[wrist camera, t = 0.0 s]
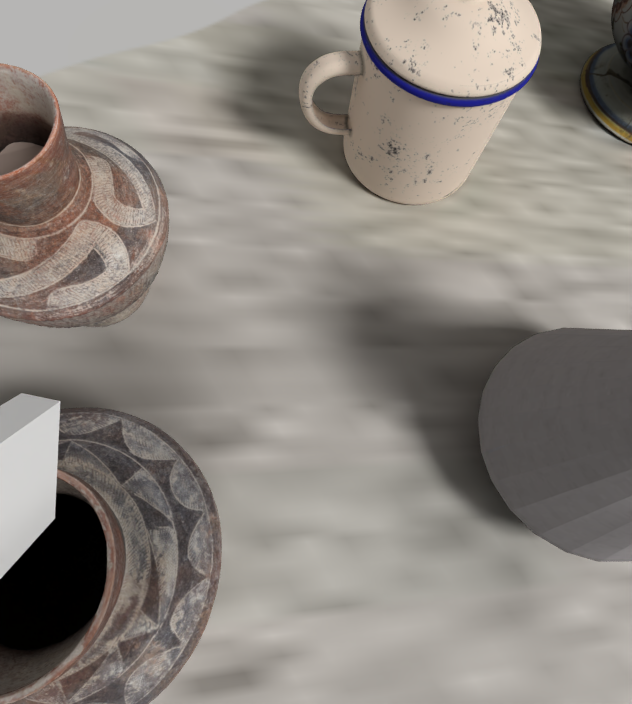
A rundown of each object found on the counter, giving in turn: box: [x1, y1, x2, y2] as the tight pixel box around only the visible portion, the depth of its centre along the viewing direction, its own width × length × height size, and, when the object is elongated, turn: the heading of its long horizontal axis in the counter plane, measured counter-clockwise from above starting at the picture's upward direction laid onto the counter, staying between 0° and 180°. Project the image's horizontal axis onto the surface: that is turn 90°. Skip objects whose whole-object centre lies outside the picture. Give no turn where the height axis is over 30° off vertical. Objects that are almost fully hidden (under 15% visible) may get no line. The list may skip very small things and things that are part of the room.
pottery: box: [0, 64, 222, 704], centre depth 19 cm, size 11×25×12 cm, turn 11°
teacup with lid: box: [299, 0, 541, 205], centre depth 26 cm, size 12×9×12 cm
